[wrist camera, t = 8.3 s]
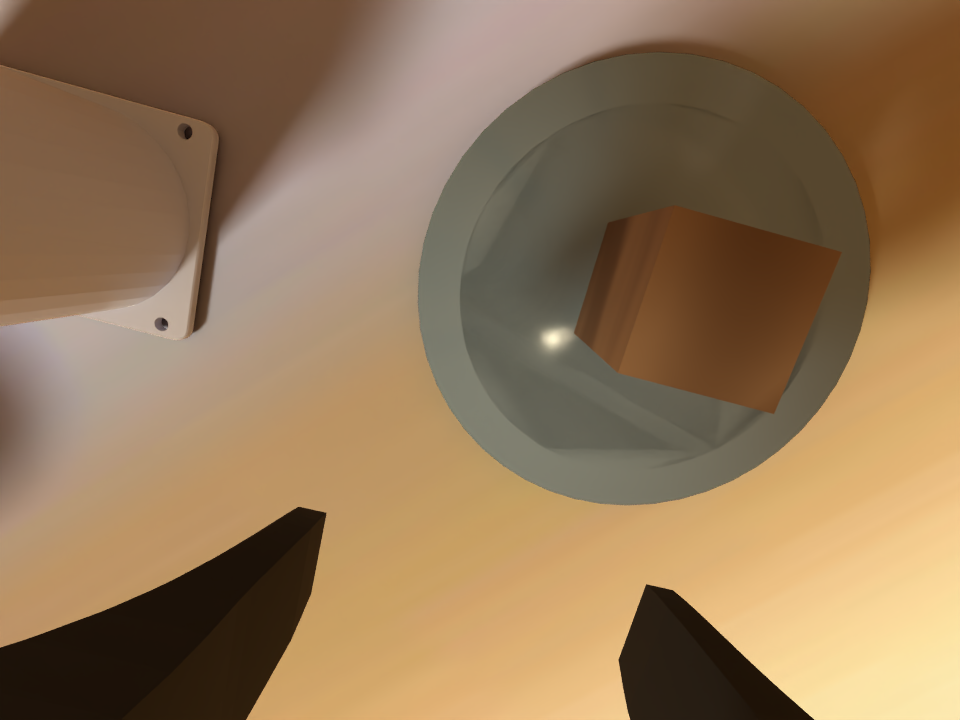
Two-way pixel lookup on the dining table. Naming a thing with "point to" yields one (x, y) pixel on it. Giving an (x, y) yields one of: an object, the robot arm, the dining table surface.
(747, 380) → the walnut block
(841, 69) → the dining table surface
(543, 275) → the dish
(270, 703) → the dining table surface
